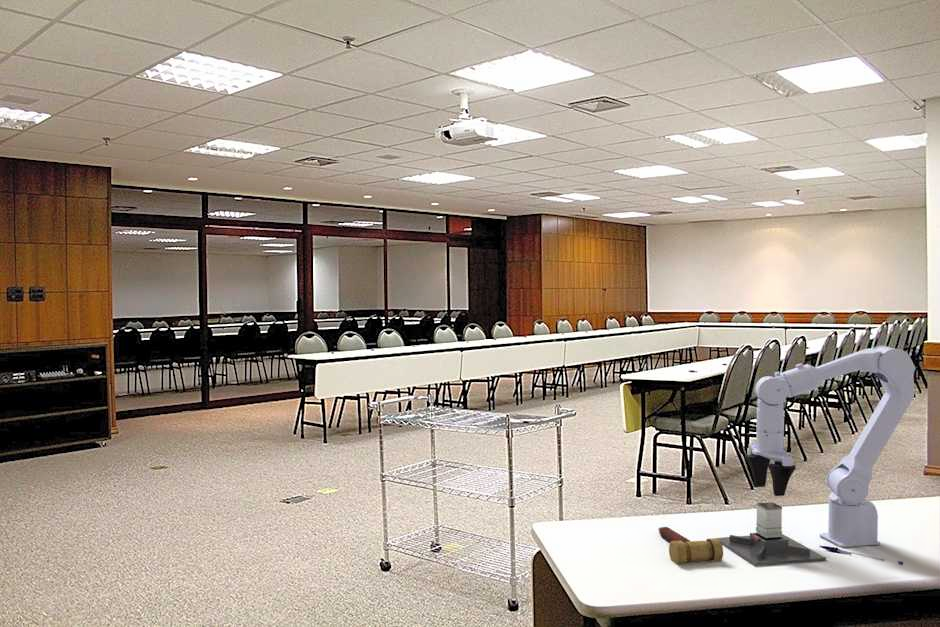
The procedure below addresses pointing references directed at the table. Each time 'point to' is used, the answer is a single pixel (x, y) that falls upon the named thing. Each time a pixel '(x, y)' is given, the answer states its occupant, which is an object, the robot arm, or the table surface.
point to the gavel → (691, 548)
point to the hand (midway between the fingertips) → (769, 490)
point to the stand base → (769, 550)
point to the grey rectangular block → (769, 520)
